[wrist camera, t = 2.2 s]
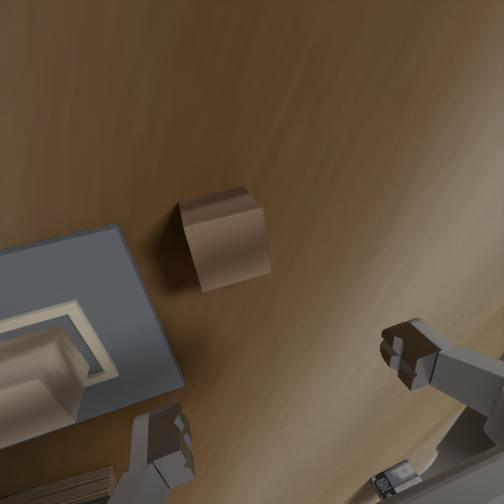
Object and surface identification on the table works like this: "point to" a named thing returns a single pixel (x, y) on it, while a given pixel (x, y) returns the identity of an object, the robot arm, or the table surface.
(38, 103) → the table surface
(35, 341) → the birch block
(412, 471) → the blue grey product box
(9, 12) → the table surface
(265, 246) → the walnut block
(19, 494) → the large dark grey book
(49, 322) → the board
